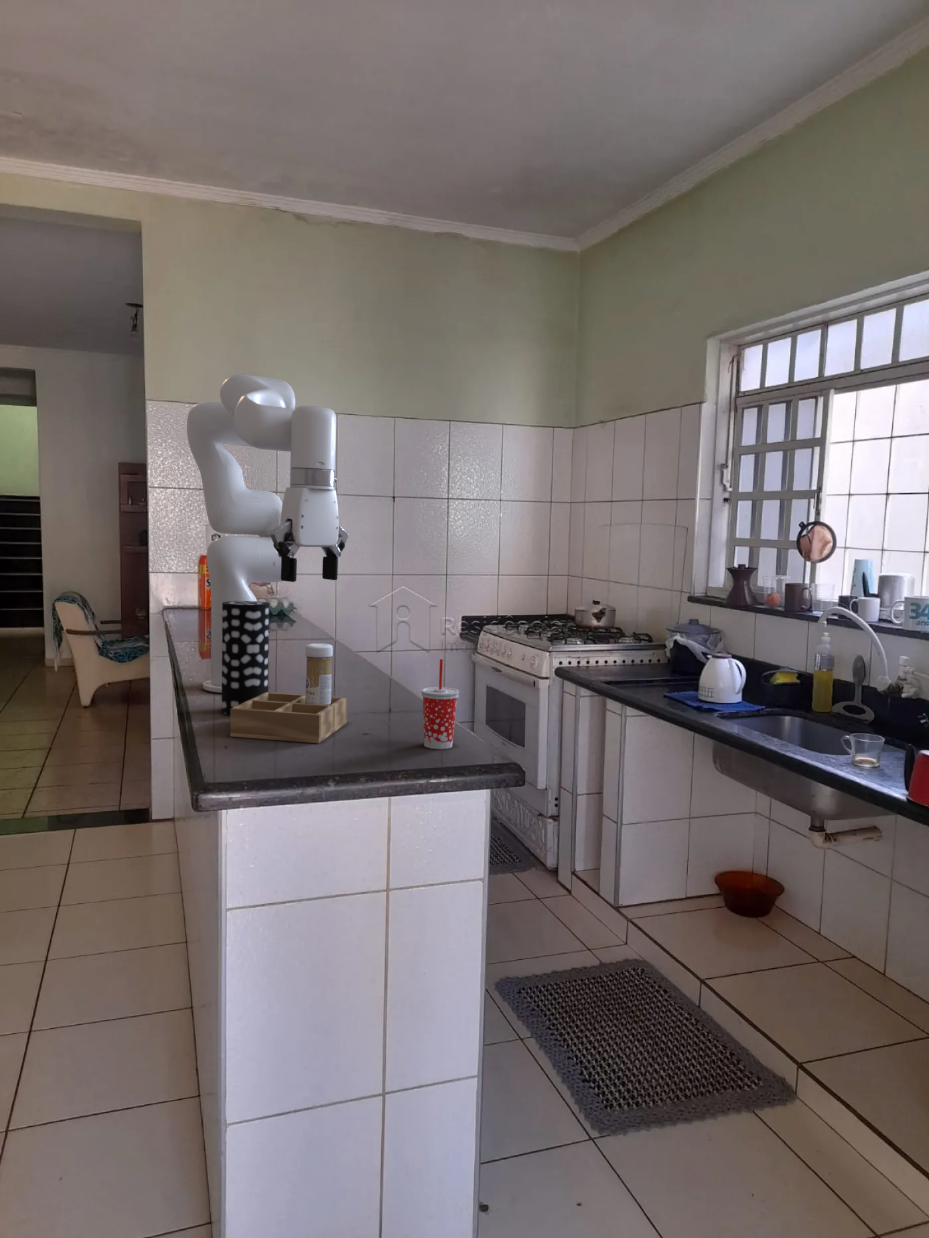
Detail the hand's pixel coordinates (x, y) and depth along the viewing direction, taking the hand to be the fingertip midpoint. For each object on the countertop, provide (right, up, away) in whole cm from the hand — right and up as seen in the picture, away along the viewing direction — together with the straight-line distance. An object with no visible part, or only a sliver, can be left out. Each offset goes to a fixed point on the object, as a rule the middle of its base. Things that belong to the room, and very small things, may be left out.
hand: (309, 580), depth 150 cm
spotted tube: (-14, -24, +9) cm, 29 cm away
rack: (-3, -25, -4) cm, 26 cm away
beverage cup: (+23, -27, -11) cm, 37 cm away
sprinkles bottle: (+2, -25, -1) cm, 25 cm away
